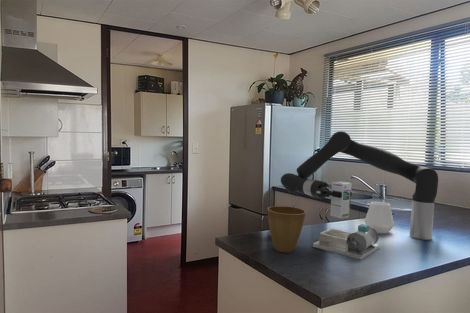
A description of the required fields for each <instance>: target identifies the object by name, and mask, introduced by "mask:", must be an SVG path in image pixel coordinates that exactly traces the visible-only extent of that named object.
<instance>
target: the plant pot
mask: <svg viewBox="0 0 470 313" xmlns="http://www.w3.org/2000/svg"><path fill="white" fill-rule="evenodd" d="M306 213H307V212H306V210H304V209H302V208H299V207H293V206H284V205H283V206H281V205H276V206H275V205H273V206H269V207H267V219H268V220H267V221H268V227H269V232H270V238H271V240H272V245H273V248H274V250H275V251H277V252H281V253H286V254H287V253H293V251H294V250H295V247H296V246H297V243H298V241H299V238H300V236H301V232H302V229H303V226H304V224H305V218H306Z"/></svg>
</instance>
